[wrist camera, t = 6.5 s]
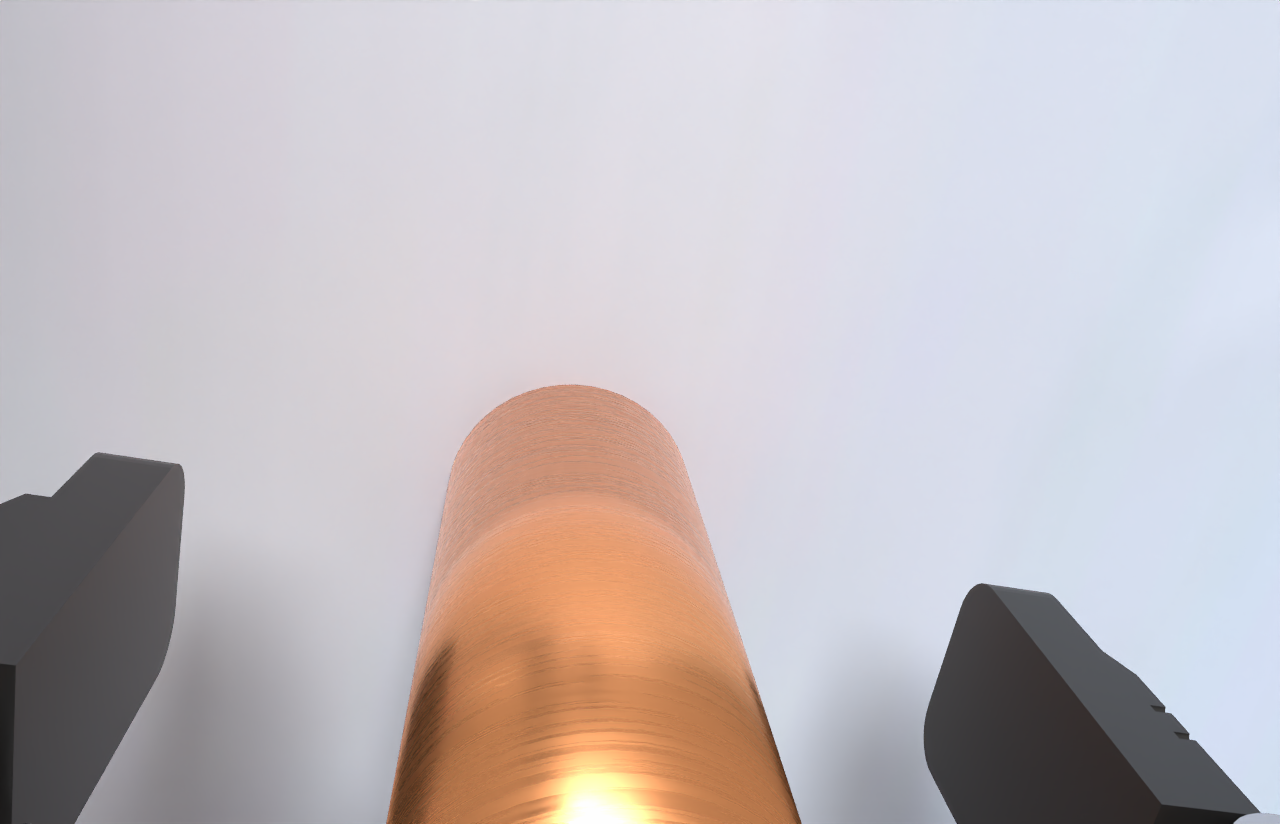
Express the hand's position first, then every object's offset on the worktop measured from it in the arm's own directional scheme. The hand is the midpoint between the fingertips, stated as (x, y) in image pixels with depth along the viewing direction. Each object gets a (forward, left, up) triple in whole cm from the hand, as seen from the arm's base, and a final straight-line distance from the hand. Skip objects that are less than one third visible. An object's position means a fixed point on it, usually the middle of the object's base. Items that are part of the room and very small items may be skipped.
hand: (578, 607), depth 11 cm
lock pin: (+6, 0, -3) cm, 7 cm away
